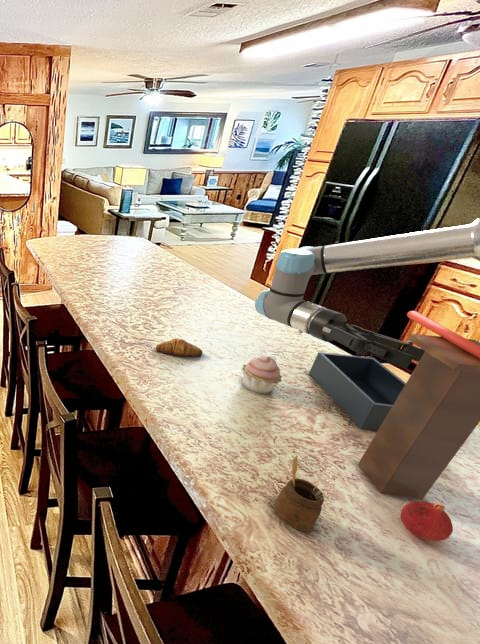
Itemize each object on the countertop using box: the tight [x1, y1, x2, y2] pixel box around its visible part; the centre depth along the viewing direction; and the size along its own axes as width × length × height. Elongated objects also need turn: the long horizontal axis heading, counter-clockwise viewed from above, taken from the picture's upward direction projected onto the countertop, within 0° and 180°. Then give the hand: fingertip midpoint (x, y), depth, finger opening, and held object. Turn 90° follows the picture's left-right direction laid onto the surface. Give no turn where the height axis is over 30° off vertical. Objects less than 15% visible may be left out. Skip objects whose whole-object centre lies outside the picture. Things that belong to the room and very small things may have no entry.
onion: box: [400, 500, 454, 542], centre depth 65 cm, size 6×6×8 cm
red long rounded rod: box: [406, 310, 480, 359], centre depth 67 cm, size 18×2×2 cm, turn 170°
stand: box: [357, 333, 480, 500], centre depth 71 cm, size 10×10×30 cm
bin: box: [308, 351, 407, 432], centre depth 97 cm, size 23×14×8 cm, turn 170°
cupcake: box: [241, 355, 283, 395], centre depth 101 cm, size 9×9×10 cm
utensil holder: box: [273, 454, 335, 532], centre depth 67 cm, size 6×6×12 cm
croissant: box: [155, 338, 203, 358], centre depth 117 cm, size 14×7×5 cm, turn 81°
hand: (428, 363), depth 77 cm, fingers open, 13 cm apart
